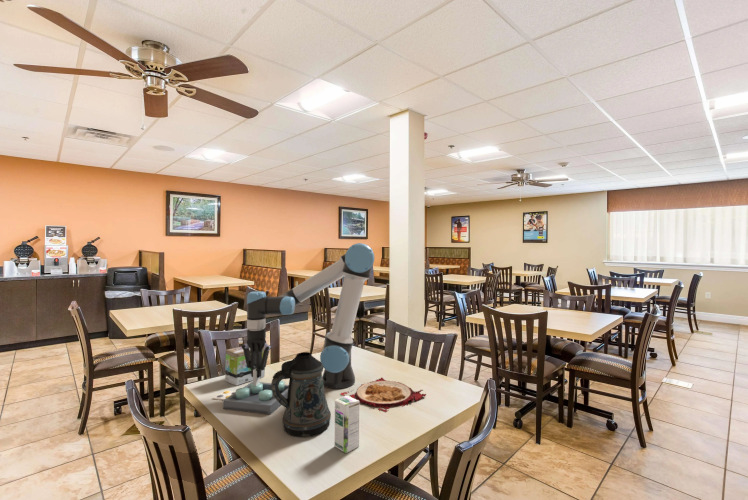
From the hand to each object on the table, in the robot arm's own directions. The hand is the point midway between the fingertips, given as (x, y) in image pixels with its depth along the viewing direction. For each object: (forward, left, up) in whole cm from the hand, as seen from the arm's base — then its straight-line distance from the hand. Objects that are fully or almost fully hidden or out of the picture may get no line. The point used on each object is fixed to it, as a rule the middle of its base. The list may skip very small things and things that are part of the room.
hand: (256, 384), depth 151 cm
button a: (-10, 0, -1) cm, 10 cm away
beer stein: (-31, +21, -4) cm, 38 cm away
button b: (-10, +10, -1) cm, 14 cm away
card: (+11, +4, -4) cm, 12 cm away
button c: (0, 0, -3) cm, 3 cm away
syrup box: (-49, +29, -4) cm, 57 cm away
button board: (-5, +5, -4) cm, 8 cm away
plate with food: (-52, -11, -5) cm, 53 cm away
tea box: (+15, -15, -4) cm, 22 cm away
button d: (0, +10, -1) cm, 10 cm away
